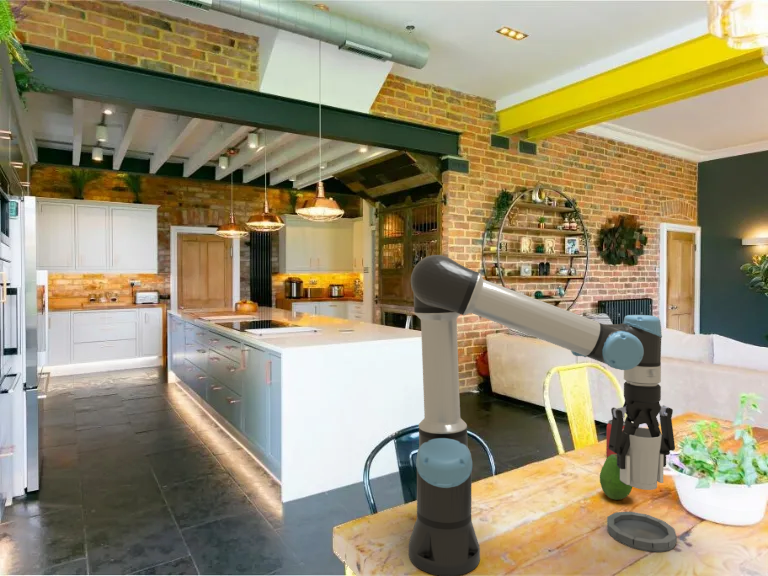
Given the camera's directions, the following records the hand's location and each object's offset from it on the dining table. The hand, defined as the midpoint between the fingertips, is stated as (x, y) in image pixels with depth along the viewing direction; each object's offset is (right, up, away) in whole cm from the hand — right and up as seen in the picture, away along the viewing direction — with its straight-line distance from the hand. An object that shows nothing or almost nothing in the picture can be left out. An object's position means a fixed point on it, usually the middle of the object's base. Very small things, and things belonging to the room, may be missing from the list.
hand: (641, 481), depth 113 cm
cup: (0, -1, 0) cm, 1 cm away
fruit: (+3, -12, +19) cm, 23 cm away
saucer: (0, -13, 0) cm, 13 cm away
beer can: (+17, -12, +47) cm, 52 cm away
